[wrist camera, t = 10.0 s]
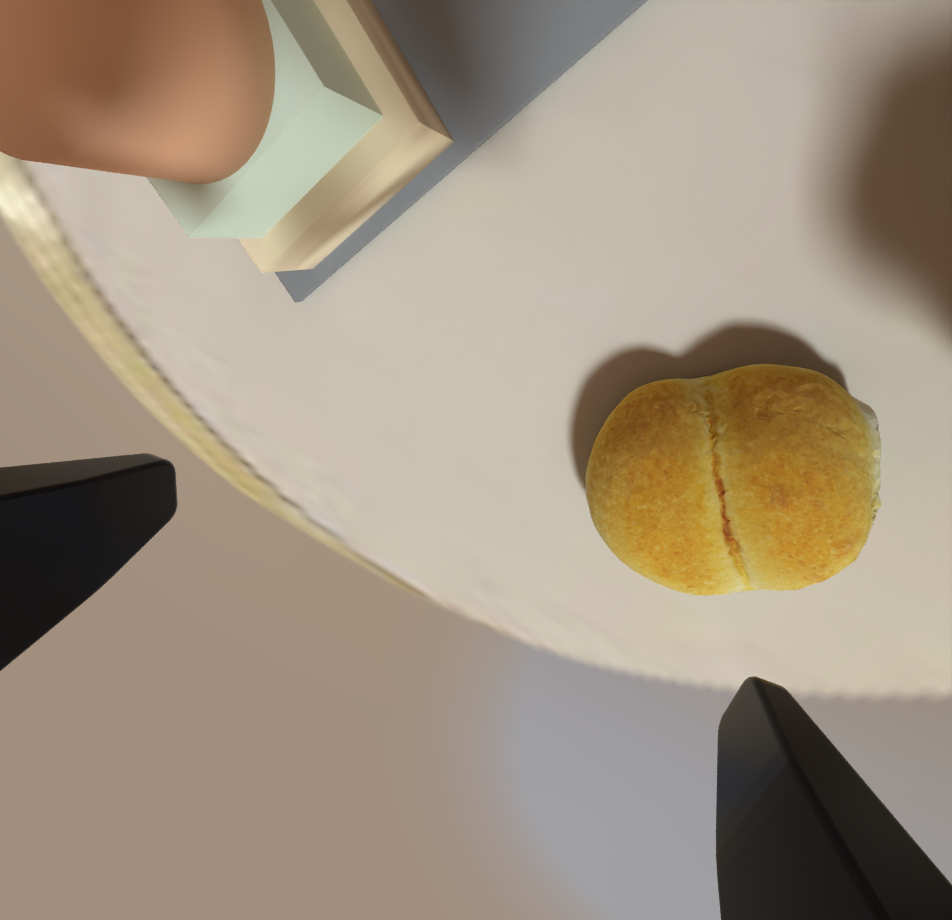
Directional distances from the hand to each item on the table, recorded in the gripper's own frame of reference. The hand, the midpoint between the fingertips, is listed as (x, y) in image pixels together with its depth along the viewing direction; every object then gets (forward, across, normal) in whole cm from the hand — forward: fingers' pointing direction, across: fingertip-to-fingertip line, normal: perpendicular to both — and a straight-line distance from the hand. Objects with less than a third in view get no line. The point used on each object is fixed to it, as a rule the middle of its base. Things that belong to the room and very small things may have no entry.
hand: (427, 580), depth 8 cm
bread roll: (+13, -7, +2) cm, 15 cm away
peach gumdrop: (+6, +10, -6) cm, 14 cm away
